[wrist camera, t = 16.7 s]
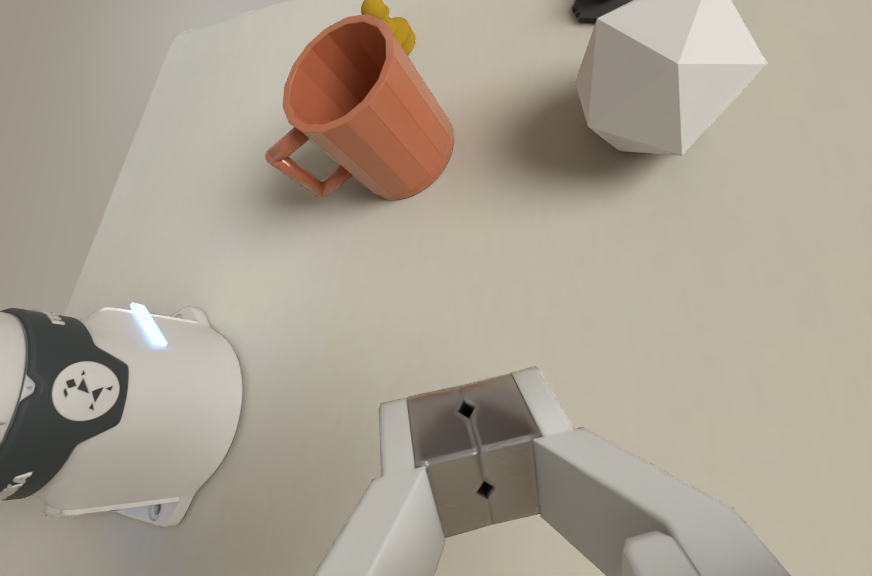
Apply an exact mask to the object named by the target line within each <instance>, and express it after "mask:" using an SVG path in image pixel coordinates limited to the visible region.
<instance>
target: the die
mask: <svg viewBox="0 0 872 576" xmlns="http://www.w3.org/2000/svg"><path fill="white" fill-rule="evenodd" d="M766 65H767V62H766V61H765V59H764V57H763V55H762V54H761V52H760V50H759V48H758V47H757V45H756V43H755V41H754V40H753V38H752V36H751V34H750V33H749V31H748V29H747V27H746V26H745V24H744V22H743V20H742V19H741V17H740V15H739V13H738V12H737V10H736V8H735V6H734V5H733V3H732V1H731V0H633V1H631V2H629V3H627V4H625V5H623V6H621V7H619V8H617V9H615V10H613V11H611V12H609V13H607V14H605V15H603V16H601V17H599V18H597V21H596V23H595V26H594V29H593V32H592V35H591V38H590V41H589V44H588V47H587V49H586V52H585V55H584V58H583V61H582V64H581V67H580V70H579V73H578V75H577V78H576V81H575V83H576V87H577V90H578V94H579V97H580V101H581V104H582V108H583V111H584V115H585V118H586V122H587V126H588V127H589V128H590V129H592V130H593V131H594V132H595V133H597V134H598V135H599V136H601V137H602V138H603V139H604V140H606V141H607V142H608V143H610V144H611V145H612V146H613V147H615V148H616V149H617V150H619V151H625V152H639V153H653V154H667V155H681V156H682V155H683V154H684V153H685V152H686V151H687V150H688V149H689V148H690V146H691V145H692V144H693V143H694V142H695V141H696V140H697V139H698V138H699V137H700V136H701V135H702V134H703V133H704V131H705V130H706V129H707V128H708V127H709V126H710V125H711V124H712V123H713V122H714V121H715V120H716V119H717V118H718V116H719V115H720V114H721V113H722V112H723V111H724V110H725V109H726V108H727V107H728V106H729V105H730V104H731V103H732V101H733V100H734V99H735V98H736V97H737V96H738V95H739V94H740V93H741V92H742V91H743V90H744V89H745V87H746V86H747V85H748V84H749V83H750V82H751V81H752V80H753V79H754V78H755V77H756V76H757V75H758V74H759V72H760V71H761V70H762V69H763V68H764V67H765V66H766Z"/></svg>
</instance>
